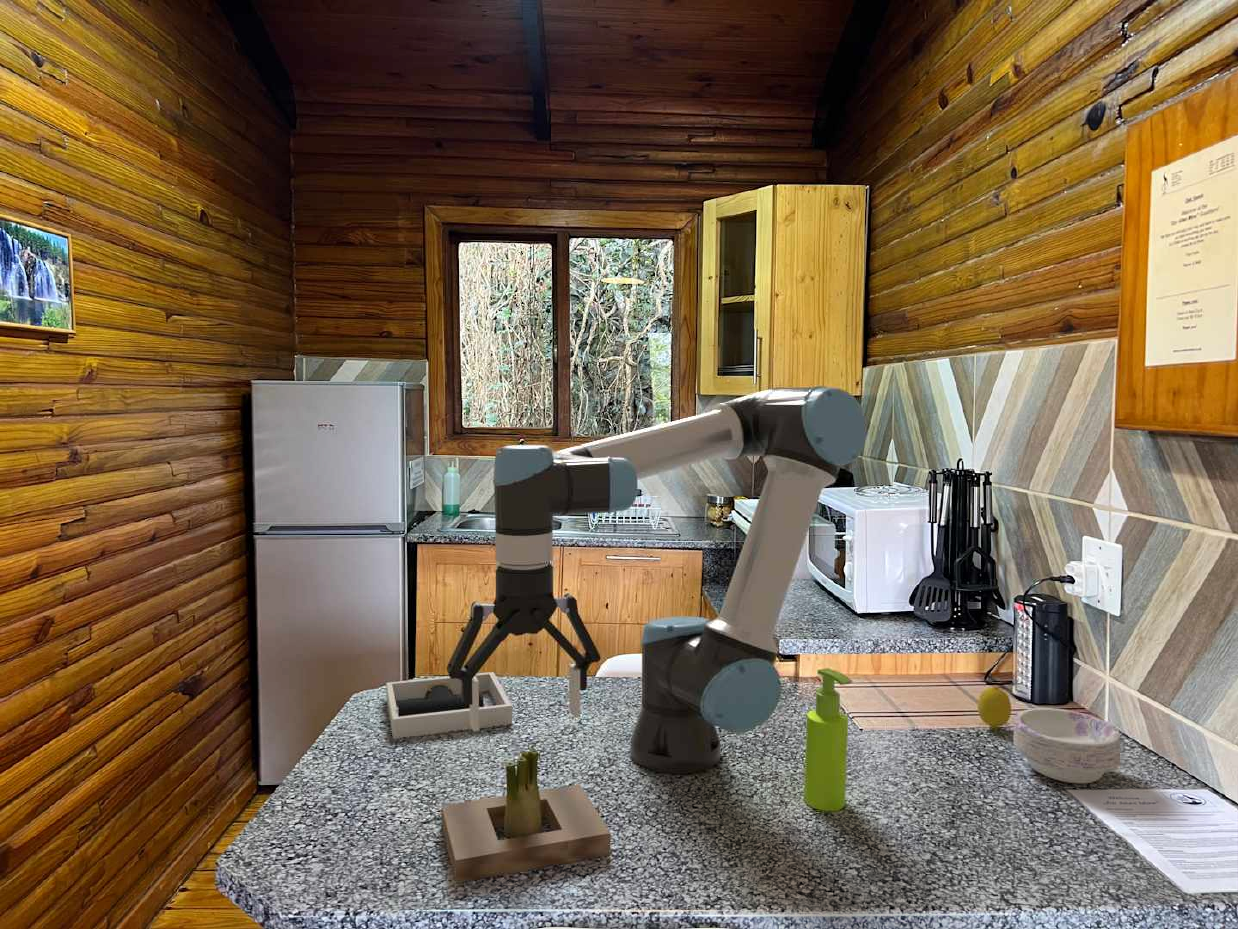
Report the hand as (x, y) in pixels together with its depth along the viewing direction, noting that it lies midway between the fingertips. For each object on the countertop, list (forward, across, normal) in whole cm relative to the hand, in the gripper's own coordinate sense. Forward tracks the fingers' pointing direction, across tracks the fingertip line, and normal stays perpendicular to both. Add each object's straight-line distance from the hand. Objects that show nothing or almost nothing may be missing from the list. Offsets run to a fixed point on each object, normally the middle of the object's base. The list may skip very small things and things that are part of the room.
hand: (525, 720), depth 107 cm
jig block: (+16, 0, 0) cm, 17 cm away
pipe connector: (+17, +6, -46) cm, 49 cm away
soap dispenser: (+17, -44, +4) cm, 48 cm away
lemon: (+18, -90, -10) cm, 92 cm away
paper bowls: (+18, -88, +7) cm, 90 cm away
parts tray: (+17, +4, -48) cm, 51 cm away
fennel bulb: (+17, +1, 0) cm, 17 cm away
